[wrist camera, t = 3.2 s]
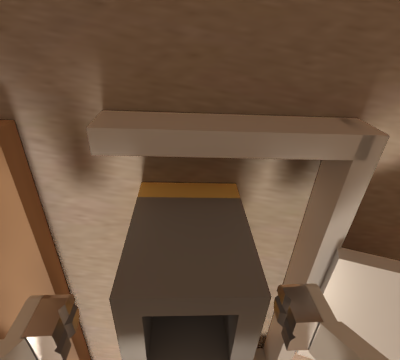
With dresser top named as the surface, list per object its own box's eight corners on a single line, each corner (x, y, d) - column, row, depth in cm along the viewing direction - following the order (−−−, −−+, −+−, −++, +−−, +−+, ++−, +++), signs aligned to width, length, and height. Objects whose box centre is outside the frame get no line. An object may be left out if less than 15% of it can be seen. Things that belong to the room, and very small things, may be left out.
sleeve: (235, 183, 12) (271, 297, 7) (226, 250, 15) (248, 374, 10) (141, 182, 12) (109, 299, 7) (146, 251, 14) (125, 378, 9)
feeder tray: (520, 123, 12) (742, 189, 7) (363, 352, 21) (412, 442, 17) (102, 110, 10) (37, 179, 6) (138, 358, 20) (124, 457, 16)
